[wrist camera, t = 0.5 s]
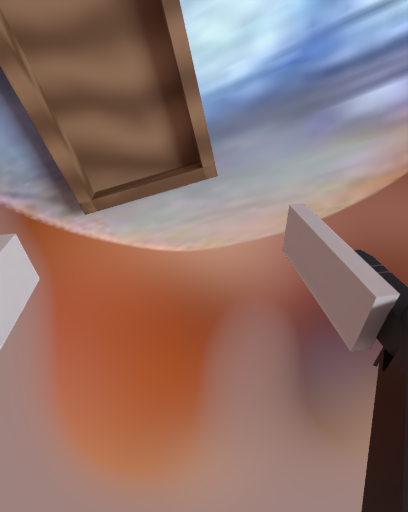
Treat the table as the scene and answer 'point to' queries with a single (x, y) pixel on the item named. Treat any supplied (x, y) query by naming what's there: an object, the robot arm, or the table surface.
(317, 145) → the table surface
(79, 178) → the tray
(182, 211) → the table surface
